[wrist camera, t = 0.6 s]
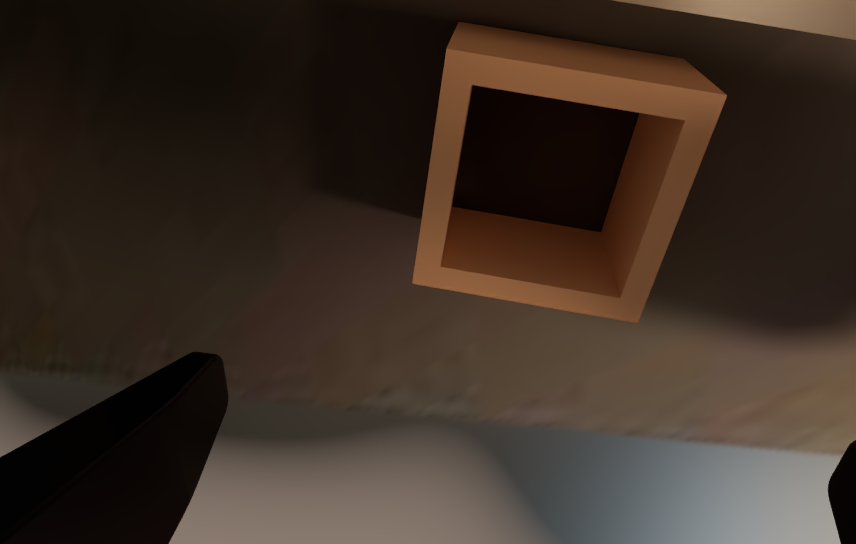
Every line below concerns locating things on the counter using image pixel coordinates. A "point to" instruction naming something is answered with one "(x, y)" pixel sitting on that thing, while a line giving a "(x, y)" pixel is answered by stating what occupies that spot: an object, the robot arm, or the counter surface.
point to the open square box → (633, 197)
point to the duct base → (774, 13)
